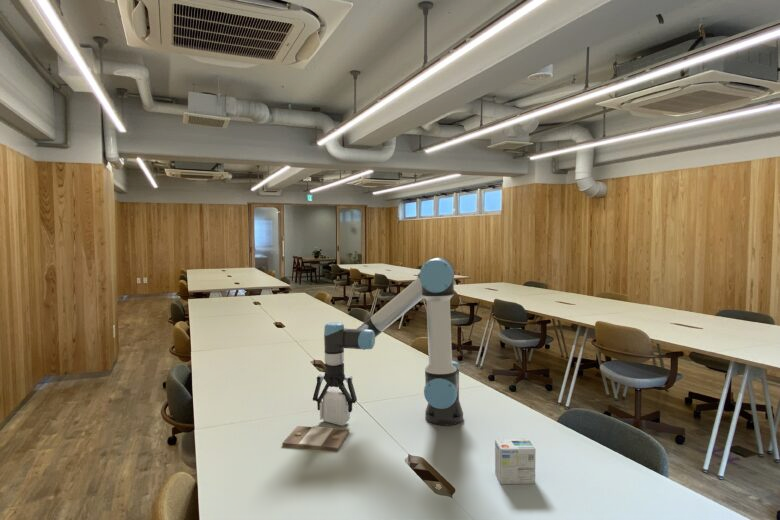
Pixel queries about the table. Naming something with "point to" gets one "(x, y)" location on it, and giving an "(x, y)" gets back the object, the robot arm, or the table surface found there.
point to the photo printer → (334, 407)
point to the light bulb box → (515, 461)
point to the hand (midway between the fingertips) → (335, 419)
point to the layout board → (316, 438)
